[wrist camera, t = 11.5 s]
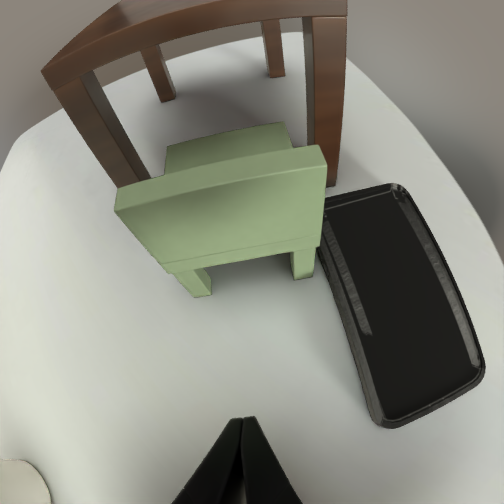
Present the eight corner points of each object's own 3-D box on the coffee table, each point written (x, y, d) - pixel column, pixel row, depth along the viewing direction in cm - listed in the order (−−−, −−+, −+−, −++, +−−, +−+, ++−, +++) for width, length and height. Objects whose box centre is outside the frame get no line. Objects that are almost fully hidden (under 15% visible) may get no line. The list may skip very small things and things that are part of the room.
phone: (401, 180, 19) (489, 377, 12) (397, 190, 20) (480, 379, 13) (301, 203, 19) (378, 436, 12) (301, 213, 20) (373, 434, 13)
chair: (316, 276, 18) (328, 165, 10) (191, 298, 19) (112, 211, 10) (287, 171, 22) (277, 61, 14) (188, 191, 23) (142, 92, 15)
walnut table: (336, 186, 21) (347, -10, 8) (143, 224, 22) (39, 71, 9) (281, 69, 31) (268, -37, 18) (162, 95, 32) (124, -3, 19)
